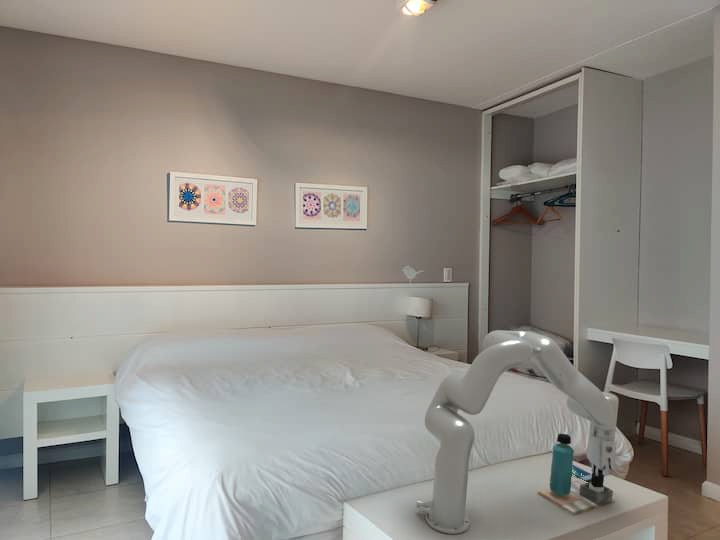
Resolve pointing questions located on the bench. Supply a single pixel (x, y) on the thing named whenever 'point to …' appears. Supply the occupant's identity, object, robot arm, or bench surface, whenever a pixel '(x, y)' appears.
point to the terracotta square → (559, 497)
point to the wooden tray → (585, 498)
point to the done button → (596, 488)
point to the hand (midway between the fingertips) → (596, 485)
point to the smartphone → (578, 474)
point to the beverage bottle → (562, 466)
